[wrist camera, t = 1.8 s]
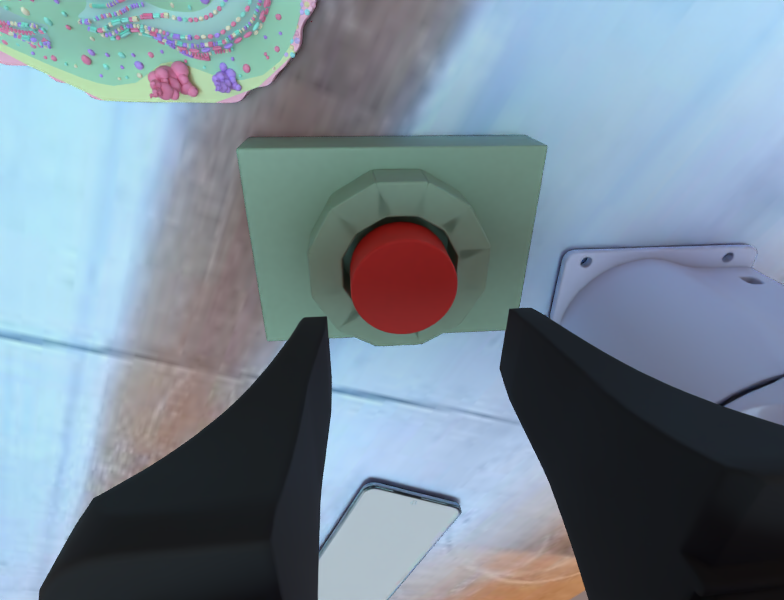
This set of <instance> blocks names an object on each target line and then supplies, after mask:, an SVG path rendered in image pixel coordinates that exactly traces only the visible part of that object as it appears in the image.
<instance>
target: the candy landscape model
mask: <svg viewBox="0 0 784 600" xmlns="http://www.w3.org/2000/svg"><path fill="white" fill-rule="evenodd" d="M316 2H317V0H0V63H2V64H6V65H21V66H30V67H33V68H35V69H37V70H39V71H41V72H44V73H46V74H47V75H48V76H50V77H51V78H52V79H54V80H55V81H58V82H61V83H68V84H70V85H72V86H74V87H76V88H78V89H80V90H83V91H85V92H86V93H87V94H88V95H89V96H90V97H92V98H94V99H98V100H105V101H124V102H193V103H235V102H238V101H241V100H242V99H244V98H245V97H246V96H247V95H248V94H249V92H250V91H251V89H254V88H257V87H264V86H267V85H269V84H270V83H272V82H273V81H274V80H275V78H276V77H277V75H278V74H279V72H280V71H281V70H282V69H283V68H284V67H286V65H287V64H288V63H289V62H290V60H291V59H292V58H294V57H295V53H296V52H298V50H299V49H300V47H301V45H302V40H303V27H304V24H305V22H306V21H307V19H308V18H309V17H310V16H311V14H312V13H313V11H314V9H315V7H316ZM311 22H312V21H311Z"/></svg>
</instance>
